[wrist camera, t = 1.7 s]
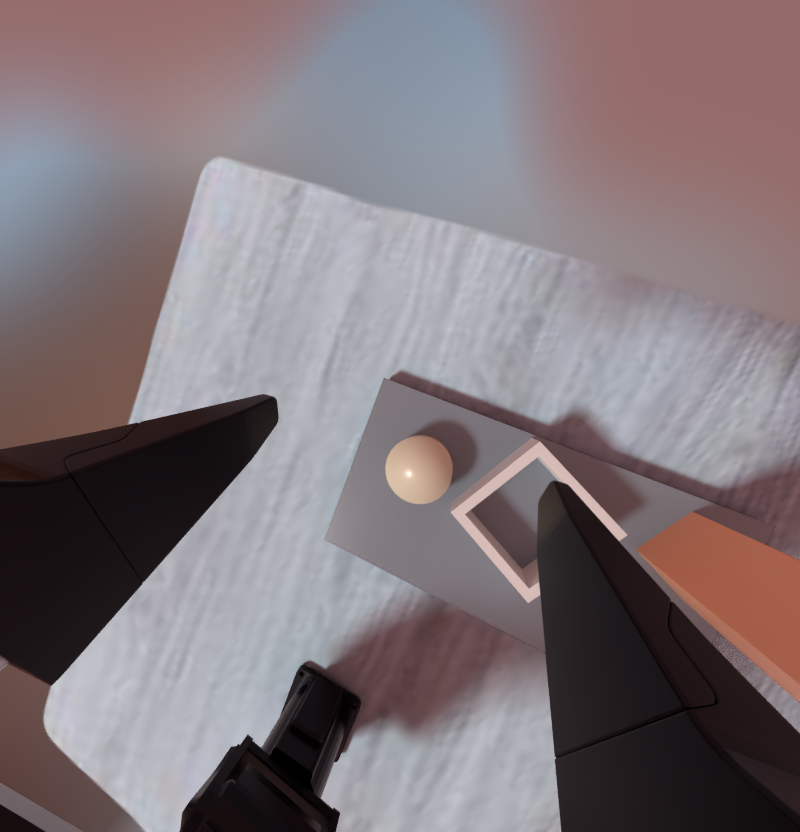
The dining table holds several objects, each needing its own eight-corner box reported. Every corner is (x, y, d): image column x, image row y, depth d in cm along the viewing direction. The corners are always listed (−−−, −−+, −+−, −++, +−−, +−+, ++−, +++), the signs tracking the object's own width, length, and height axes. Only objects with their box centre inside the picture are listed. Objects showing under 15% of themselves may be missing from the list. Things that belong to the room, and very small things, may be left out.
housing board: (661, 704, 21) (699, 760, 18) (329, 534, 27) (309, 553, 23) (760, 520, 20) (821, 544, 16) (387, 378, 25) (375, 374, 22)
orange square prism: (683, 600, 20) (1059, 931, 7) (635, 549, 21) (910, 775, 8) (743, 564, 19) (1277, 862, 7) (692, 511, 20) (1096, 695, 7)
